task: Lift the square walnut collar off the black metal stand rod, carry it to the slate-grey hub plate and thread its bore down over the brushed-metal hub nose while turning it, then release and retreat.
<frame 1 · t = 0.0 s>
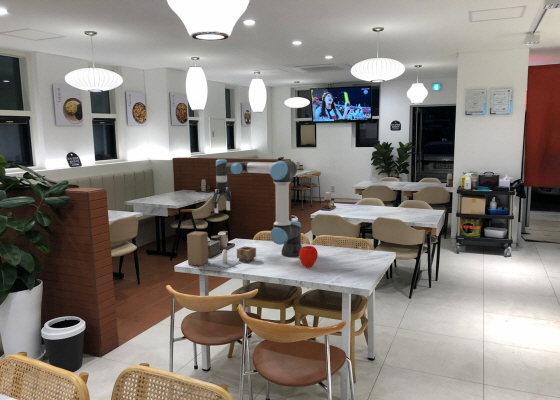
hand: (222, 211, 316), 28 cm above the table, fingers open, 13 cm apart
apple: (308, 267, 277), on the table
wooden block: (198, 263, 286), on the table
collar: (246, 257, 292), point 2 cm above the table, touching stand
hub: (225, 264, 284), on the table
stand: (246, 260, 292), on the table
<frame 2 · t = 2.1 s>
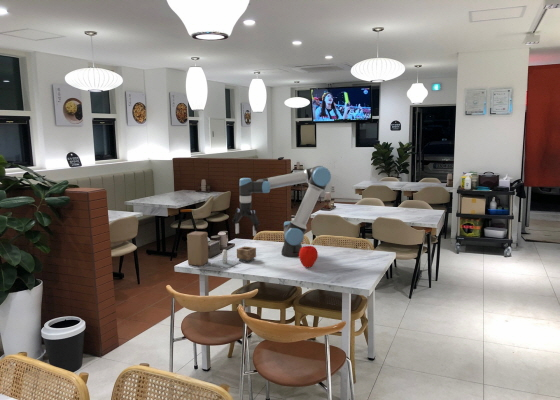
hand: (245, 234, 290), 17 cm above the table, fingers open, 13 cm apart
nothing on the table moved.
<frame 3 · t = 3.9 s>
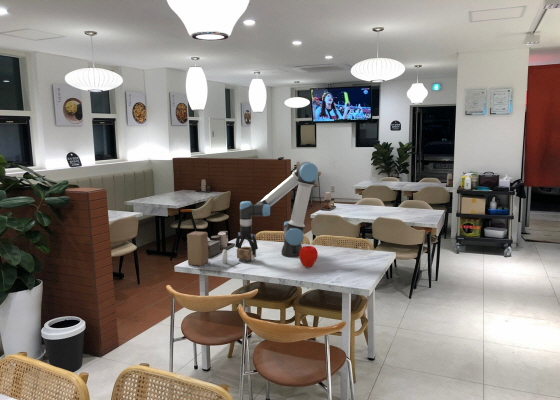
hand: (246, 258, 292), 1 cm above the table, fingers closed on collar, 9 cm apart
collar: (246, 257, 292), point 2 cm above the table, touching gripper, stand
everything else where it was.
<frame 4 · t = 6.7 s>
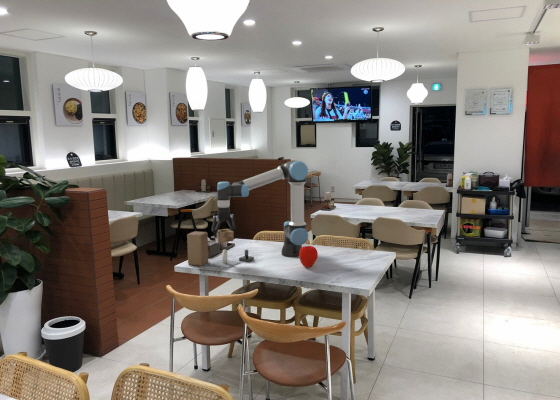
hand: (224, 241, 282), 15 cm above the table, fingers closed on collar, 9 cm apart
collar: (224, 240, 282), point 16 cm above the table, touching gripper
everything else where it was.
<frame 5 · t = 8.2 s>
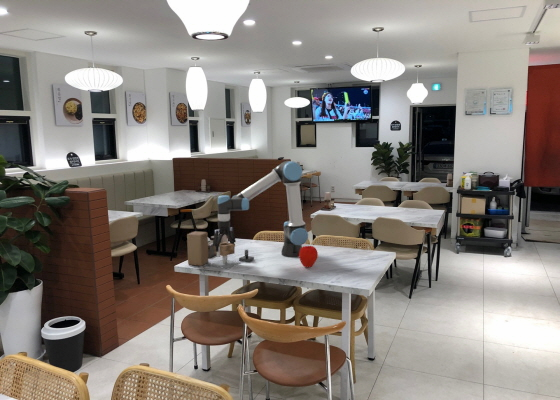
hand: (224, 255, 283), 6 cm above the table, fingers closed on collar, 9 cm apart
collar: (224, 253, 283), point 7 cm above the table, touching gripper
everything else where it was.
when the fingers open (1 cm above the table, at t = 9.6 s): collar drops 2 cm, resting on hub.
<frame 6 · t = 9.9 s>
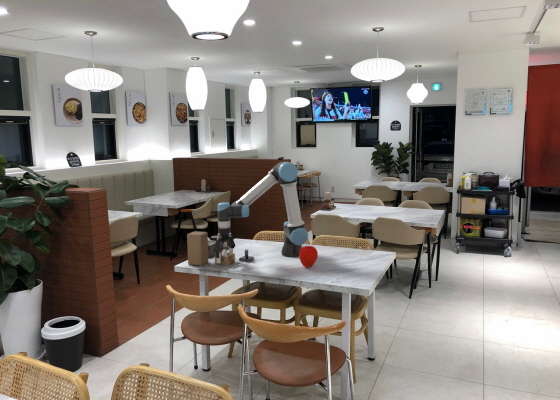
hand: (224, 260, 284), 2 cm above the table, fingers open, 12 cm apart
collar: (225, 263, 284), point 1 cm above the table, touching hub
everything else where it was.
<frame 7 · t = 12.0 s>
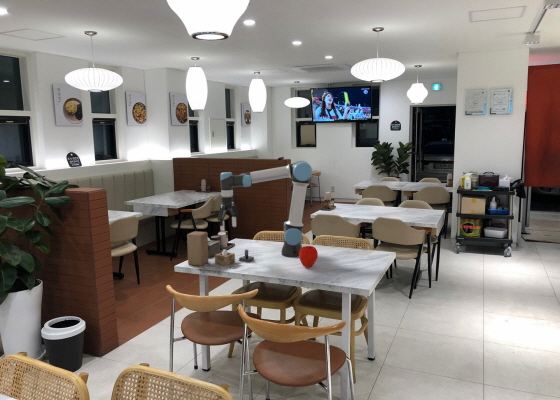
hand: (228, 228, 291), 21 cm above the table, fingers open, 13 cm apart
nothing on the table moved.
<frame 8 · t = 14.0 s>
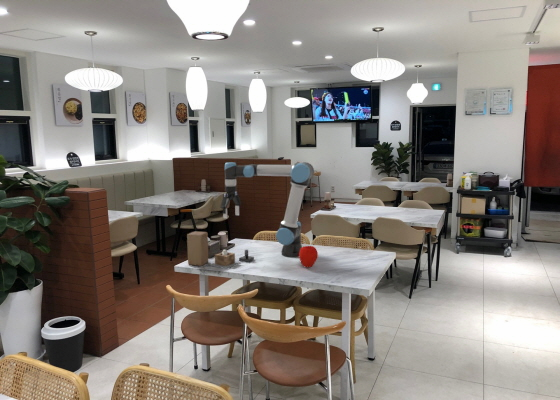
hand: (231, 216, 302), 27 cm above the table, fingers open, 13 cm apart
nothing on the table moved.
at the end: collar 0.0 cm off-centre on the hub, point 0.6 cm above the hub's base; the gripper is holding nothing; collar tilted 0° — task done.
